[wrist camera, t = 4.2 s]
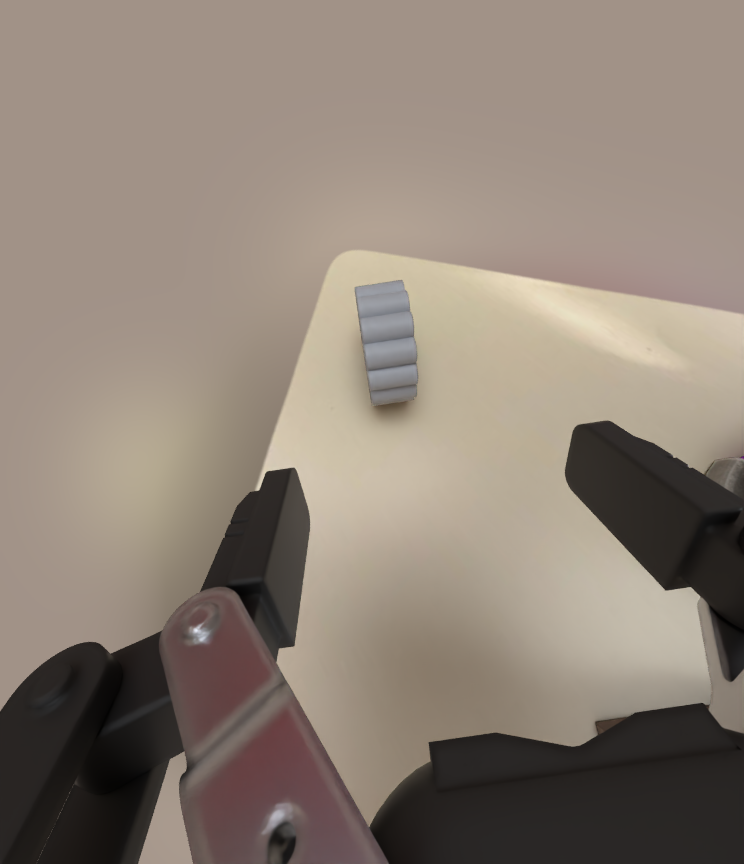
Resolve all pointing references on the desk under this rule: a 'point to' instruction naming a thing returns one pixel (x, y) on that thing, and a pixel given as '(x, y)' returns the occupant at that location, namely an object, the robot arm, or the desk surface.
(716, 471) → the webcam
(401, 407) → the desk surface
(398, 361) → the grey scalloped ring
